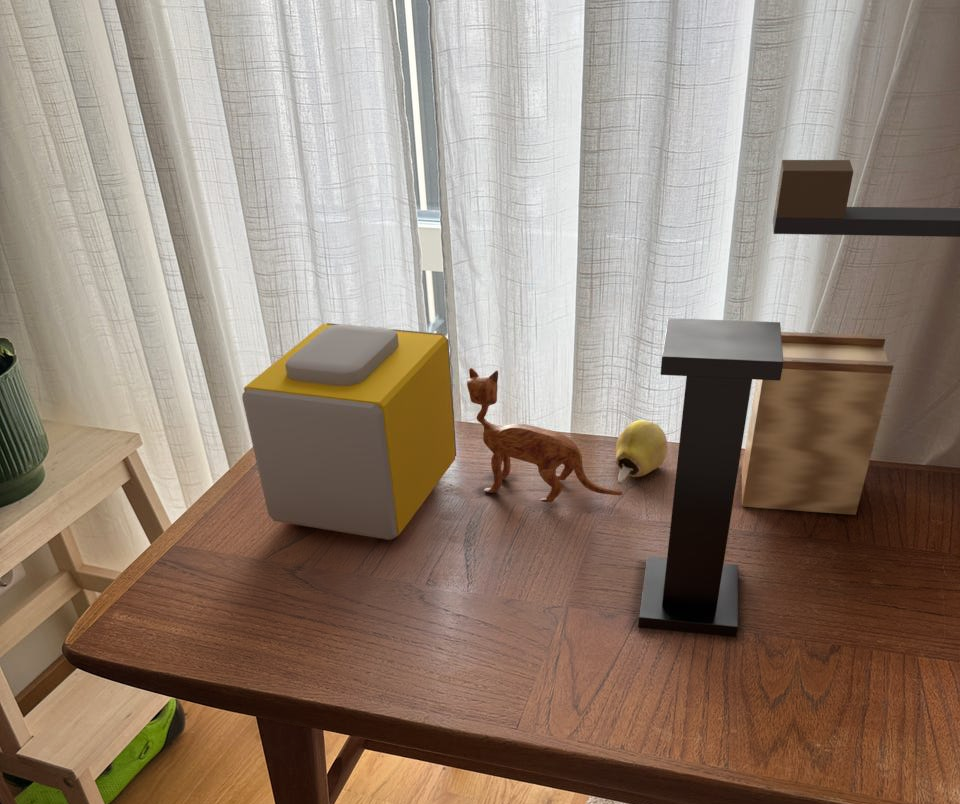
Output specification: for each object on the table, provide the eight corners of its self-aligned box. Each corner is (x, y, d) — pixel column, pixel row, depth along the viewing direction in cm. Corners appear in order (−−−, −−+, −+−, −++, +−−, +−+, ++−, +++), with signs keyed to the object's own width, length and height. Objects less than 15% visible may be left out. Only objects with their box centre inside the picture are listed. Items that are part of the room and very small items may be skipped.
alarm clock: (342, 453, 115) (319, 306, 103) (460, 469, 111) (451, 317, 99) (264, 536, 101) (227, 378, 89) (396, 559, 97) (375, 395, 85)
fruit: (594, 486, 106) (621, 437, 112) (641, 507, 106) (666, 456, 111) (607, 449, 102) (636, 400, 108) (657, 471, 101) (683, 420, 107)
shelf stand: (736, 574, 92) (779, 317, 75) (736, 637, 84) (784, 367, 68) (646, 566, 94) (668, 313, 77) (638, 627, 86) (661, 361, 70)
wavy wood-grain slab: (849, 478, 105) (884, 334, 94) (855, 515, 99) (894, 366, 88) (741, 470, 107) (763, 330, 97) (741, 506, 102) (765, 360, 91)
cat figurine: (628, 488, 105) (636, 375, 97) (615, 518, 101) (622, 402, 92) (481, 468, 111) (476, 358, 102) (462, 495, 106) (455, 383, 97)
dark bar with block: (997, 224, 84) (1016, 159, 81) (1006, 237, 81) (1027, 171, 78) (772, 221, 88) (781, 159, 85) (773, 234, 85) (783, 170, 82)
